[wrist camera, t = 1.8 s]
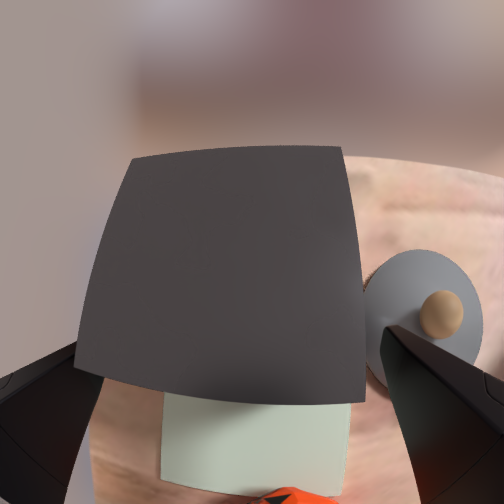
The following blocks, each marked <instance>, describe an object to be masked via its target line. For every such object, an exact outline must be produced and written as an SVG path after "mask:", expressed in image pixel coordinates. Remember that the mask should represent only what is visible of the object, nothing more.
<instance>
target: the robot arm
mask: <svg viewBox="0 0 504 504" xmlns="http://www.w3.org/2000/svg"><path fill="white" fill-rule="evenodd" d="M76 345H77V341H76V342H74V343H72V344H70V345H68V346H66V347H64V348H61V349H59V350H57V351H56V352H54V353H52V354H49V355H48V356H46V357H43V358H41V359H39V360H37V361H35V362H33V363H31V364H29V365H27V366H25V367H23V368H21V369H19V370H17V371H15V372H14V373H11V374H9V375H6V376H4V377H2V378H0V504H64V501H65V496H66V493H67V487H68V485H69V481H70V477H71V474H72V470H73V467H74V464H75V461H76V458H77V455H78V452H79V449H80V446H81V443H82V440H83V437H84V434H85V431H86V428H87V426H88V423H89V420H90V418H91V415H92V412H93V410H94V407H95V405H96V402H97V400H98V397H99V394H100V391H101V388H102V384H103V381H104V378H105V377H102V376H99V375H96V374H93V373H90V372H87V371H84V370H81V369H78V368H75V367H74V360H75V352H76ZM379 352H380V358H381V361H382V365H383V369H384V374H385V378H386V382H387V386H388V391H389V395H390V398H391V401H392V404H393V407H394V410H395V413H396V416H397V419H398V422H399V425H400V428H401V431H402V434H403V437H404V440H405V444H406V447H407V450H408V454H409V457H410V461H411V464H412V468H413V472H414V476H415V480H416V484H417V488H418V492H419V496H420V501H421V504H504V382H503V381H501V380H499V379H497V378H495V377H493V376H491V375H490V374H488V373H486V372H484V373H483V371H482V370H480V369H479V368H477V367H475V366H473V365H471V364H469V363H468V362H466V361H464V360H462V359H460V358H459V357H457V356H455V355H453V354H451V353H449V352H448V351H446V350H444V349H442V348H440V347H438V346H436V345H435V344H433V343H431V342H429V341H427V340H425V339H424V338H422V337H420V336H418V335H416V334H414V333H413V332H411V331H409V330H407V329H405V328H403V327H401V326H400V325H397V324H395V325H389V326H386V327H384V329H383V333H382V338H381V343H380V349H379Z"/></svg>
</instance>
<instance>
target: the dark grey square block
mask: <svg viewBox="0 0 504 504" xmlns="http://www.w3.org/2000/svg"><path fill="white" fill-rule="evenodd" d="M74 367H75V368H78V369H81V370H84V371H87V372H90V373H93V374H96V375H99V376H102V377H106V378H109V379H113V380H116V381H120V382H123V383H127V384H131V385H135V386H139V387H143V388H148V389H152V390H157V391H162V392H167V393H172V394H177V395H183V396H189V397H196V398H202V399H210V400H218V401H227V402H237V403H249V404H266V405H331V404H348V403H360V402H365V394H366V329H365V308H364V293H363V281H362V271H361V261H360V253H359V244H358V237H357V230H356V223H355V217H354V210H353V204H352V199H351V193H350V188H349V183H348V178H347V173H346V168H345V163H344V159H343V155H342V150H341V147H333V146H248V147H231V148H216V149H204V150H194V151H185V152H176V153H168V154H161V155H154V156H147V157H141V158H135V159H132V161H131V163H130V165H129V168H128V170H127V172H126V175H125V177H124V179H123V182H122V184H121V186H120V189H119V191H118V194H117V196H116V199H115V201H114V204H113V207H112V209H111V212H110V215H109V218H108V220H107V223H106V226H105V230H104V232H103V235H102V238H101V242H100V245H99V248H98V251H97V255H96V258H95V262H94V265H93V269H92V273H91V276H90V280H89V284H88V289H87V293H86V297H85V301H84V306H83V311H82V316H81V321H80V327H79V332H78V339H77V345H76V352H75V360H74Z"/></svg>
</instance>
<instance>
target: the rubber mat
mask: <svg viewBox="0 0 504 504" xmlns="http://www.w3.org/2000/svg"><path fill="white" fill-rule="evenodd" d="M350 414H351V403H348V404H331V405H266V404H249V403H237V402H227V401H218V400H210V399H202V398H196V397H189V396H183V395H177V394H172V393H167V392H164V404H163V419H162V439H161V480H164V481H168V482H172V483H176V484H180V485H184V486H188V487H193V488H197V489H202V490H208V491H213V492H220V493H226V494H234V495H242V496H253V497H260V496H262V495H264V494H266V493H268V492H270V493H271V491H272V492H273V490H274V491H275V489H278V488H282V487H296V488H298V489H300V490H303V491H306V492H310V493H313V494H317V495H321V496H324V497H330V496H340V495H341V492H342V486H343V480H344V473H345V466H346V458H347V449H348V439H349V428H350ZM268 494H269V493H268ZM266 495H267V494H266ZM264 496H265V495H264ZM262 497H263V496H262Z"/></svg>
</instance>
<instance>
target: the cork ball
mask: <svg viewBox="0 0 504 504" xmlns="http://www.w3.org/2000/svg"><path fill="white" fill-rule="evenodd" d="M462 320H463V306H462V303H461V301H460V299H459V298H458V297H457V296H456V295H455V294H454V293H452V292H450V291H446V290H440V291H436V292H434V293H432V294H431V295H429V296H428V297H427V298H426V300H425V301H424V303H423V305H422V307H421V310H420V324H421V327H422V329H423V331H424V332H425V333H426V334H427V335H428V336H430V337H431V338H434V339H446V338H448V337H450V336H452V335H453V334H454V333H455V332H456V331H457V330H458V329H459V327H460V325H461V323H462Z"/></svg>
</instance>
